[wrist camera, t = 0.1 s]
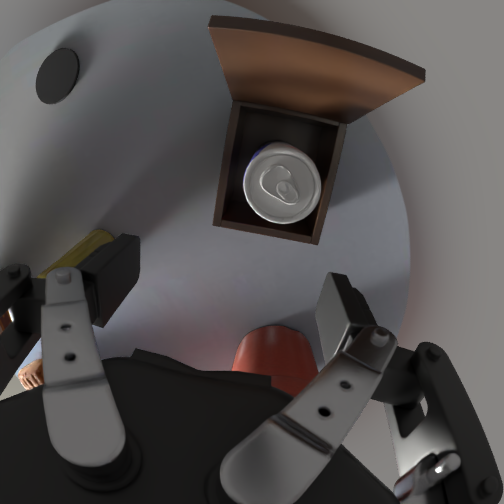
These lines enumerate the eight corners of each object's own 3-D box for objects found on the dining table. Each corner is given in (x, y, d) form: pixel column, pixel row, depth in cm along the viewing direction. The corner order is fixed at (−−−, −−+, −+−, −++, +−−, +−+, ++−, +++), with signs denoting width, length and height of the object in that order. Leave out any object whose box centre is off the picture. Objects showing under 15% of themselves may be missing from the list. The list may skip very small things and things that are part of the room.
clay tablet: (56, 345, 50) (38, 368, 43) (105, 397, 56) (93, 422, 49) (22, 361, 55) (7, 379, 48) (62, 404, 61) (51, 423, 54)
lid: (425, 82, 10) (426, 68, 10) (207, 27, 10) (211, 14, 10) (349, 124, 23) (350, 116, 23) (232, 99, 23) (233, 91, 23)
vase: (114, 227, 39) (57, 272, 26) (123, 266, 41) (75, 320, 28) (82, 230, 39) (23, 272, 26) (92, 266, 41) (41, 316, 28)
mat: (43, 53, 27) (41, 53, 27) (85, 44, 28) (83, 44, 27) (34, 106, 31) (32, 106, 31) (74, 102, 31) (72, 102, 31)
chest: (307, 219, 37) (317, 245, 29) (224, 203, 37) (212, 225, 28) (329, 122, 32) (348, 120, 24) (241, 104, 31) (233, 96, 23)
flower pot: (249, 296, 42) (239, 380, 27) (343, 332, 44) (366, 412, 29) (210, 366, 48) (193, 442, 33) (293, 392, 50) (297, 465, 35)
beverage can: (257, 135, 32) (249, 139, 18) (304, 145, 32) (330, 156, 19) (248, 181, 34) (235, 217, 21) (294, 190, 35) (312, 232, 21)
